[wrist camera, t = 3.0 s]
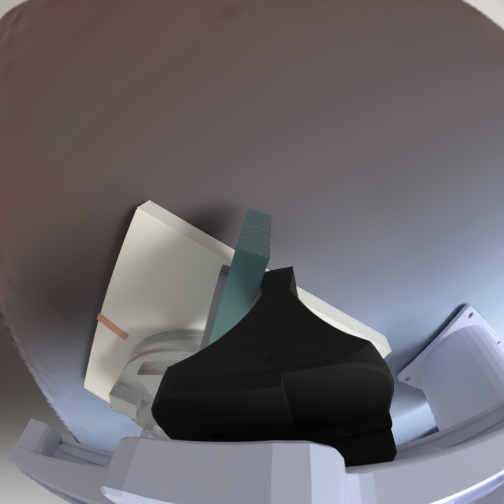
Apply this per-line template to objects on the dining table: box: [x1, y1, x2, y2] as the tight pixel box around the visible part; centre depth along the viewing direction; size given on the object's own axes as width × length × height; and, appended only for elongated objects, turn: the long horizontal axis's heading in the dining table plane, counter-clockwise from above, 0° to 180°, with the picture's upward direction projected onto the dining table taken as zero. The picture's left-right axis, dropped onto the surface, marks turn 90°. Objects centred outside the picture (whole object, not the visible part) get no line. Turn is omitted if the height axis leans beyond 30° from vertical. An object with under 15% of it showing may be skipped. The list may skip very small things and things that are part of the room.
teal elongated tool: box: [109, 209, 271, 440], centre depth 14 cm, size 18×11×5 cm, turn 164°
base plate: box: [84, 200, 392, 404], centre depth 18 cm, size 17×19×2 cm
